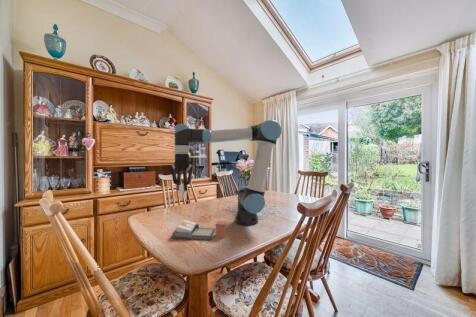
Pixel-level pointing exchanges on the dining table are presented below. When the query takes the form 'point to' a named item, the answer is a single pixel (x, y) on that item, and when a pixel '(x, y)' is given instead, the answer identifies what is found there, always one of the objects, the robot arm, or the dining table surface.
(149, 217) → the dining table surface
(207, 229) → the breaker panel
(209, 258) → the dining table surface
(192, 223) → the rocker
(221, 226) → the lockout cap
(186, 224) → the rocker
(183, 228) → the rocker
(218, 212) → the dining table surface
